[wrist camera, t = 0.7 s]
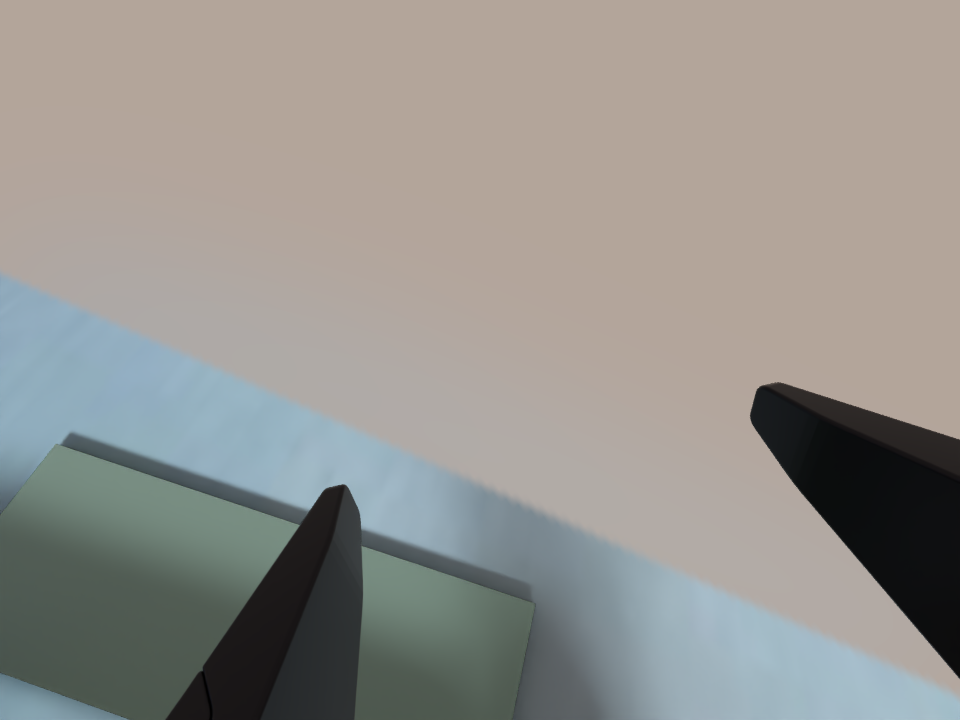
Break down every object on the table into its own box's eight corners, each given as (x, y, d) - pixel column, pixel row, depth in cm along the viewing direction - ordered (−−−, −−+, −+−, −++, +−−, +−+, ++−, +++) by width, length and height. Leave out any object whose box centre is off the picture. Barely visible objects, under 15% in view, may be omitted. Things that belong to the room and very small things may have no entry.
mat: (484, 839, 17) (486, 848, 16) (-81, 635, 18) (-96, 637, 17) (532, 602, 21) (535, 603, 20) (65, 446, 22) (55, 443, 21)
